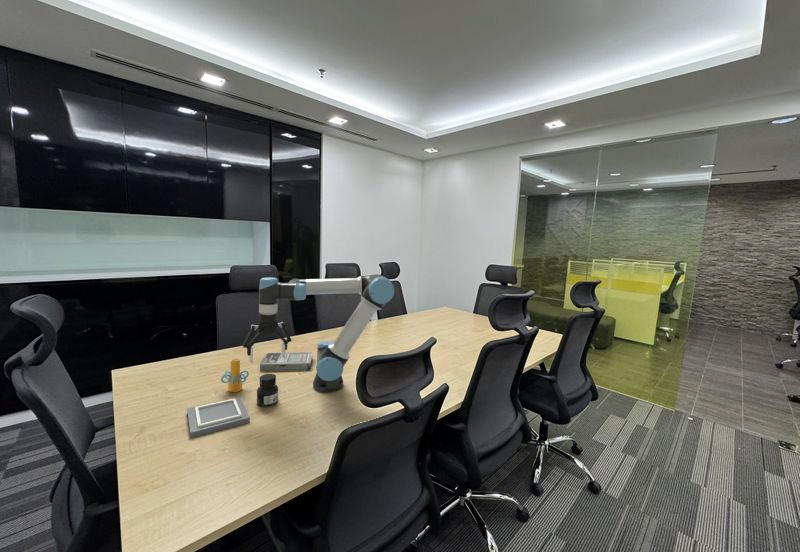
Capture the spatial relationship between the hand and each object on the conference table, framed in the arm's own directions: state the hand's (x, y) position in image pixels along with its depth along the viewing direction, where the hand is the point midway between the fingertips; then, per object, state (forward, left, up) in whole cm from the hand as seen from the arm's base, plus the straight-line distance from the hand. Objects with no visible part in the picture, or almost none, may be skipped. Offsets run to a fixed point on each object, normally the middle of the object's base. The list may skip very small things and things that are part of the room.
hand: (267, 359), depth 144 cm
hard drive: (-21, -40, -21) cm, 50 cm away
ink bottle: (0, 0, -20) cm, 20 cm away
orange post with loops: (+10, -20, -20) cm, 30 cm away
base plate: (+20, +3, -20) cm, 28 cm away
